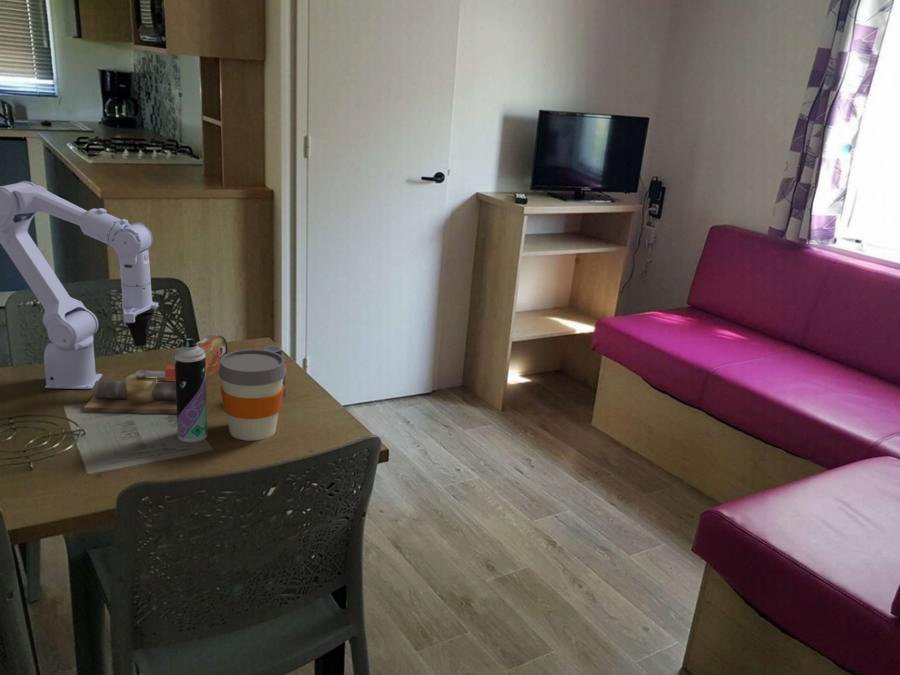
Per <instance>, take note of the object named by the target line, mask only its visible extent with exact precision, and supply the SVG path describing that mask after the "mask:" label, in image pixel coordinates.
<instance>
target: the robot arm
mask: <svg viewBox="0 0 900 675" xmlns="http://www.w3.org/2000/svg"><path fill="white" fill-rule="evenodd" d="M39 212H40V213H41V212H42V213H45V214H48V215H50V216H53V217H55V218H59V219H61V220H63V221H66V222H69V223H72V224H74V225H77V226H79V227H80V230H81V232H82V233H83V235H86V236H88V237H90V238H92V239H95V240H98V241H99V242H102V243H104V244H106V245H109V246H111V247H112V249H113V250H114V251H115V253H116V254H117V256H118V261H119V263H118V264H119V271H120V272H119V274H120V283H121V284H120V285H121V295H122V298H121V299H122V303H121V307H122V308H121V309H122V311H123V313H122V315H121V318H122V320H123V323H125V325H126V326H127V328H128V329H129V330H128V331H129V332H130V335H131V338H132V341H133V344H134V346H136V347H145V346H146V345H147V344H148V339H149V331H150V327H151V322H152V319H153V317H154V315H155V310H154V309H157V308H158V307H159V303H158V302H154V301H153V297H152V296H153V294H152V293H153V292H152V282H151V279H152V278H151V268H150V267H151V266H150V264H151V263H150V255H149V254H150V252H149V248H150V247H151V246H152V245H153V242H154V241H153V240H154V238H153V233H152V232H151V230H150V229H149V228H148V227H147V226H146V225H144V224H143V223H142V222H134V223H129V220H128V219H125V218H123V219H120V218H119V217H116V216H114V215H111V214H109V213H107V209H105V208H103V207H101V208H91V209H89V210H86V209H84V208H82V207H80V206H78V205H77V204H74V203H72V202H71V201H68V200H67V199H65V198H62V197H60V196H58V195H56V194H54V193H52V192H50V191H48V190H47V189H46V188H45V187H44V186H41V185H38V184H35V183H33V182H31V181H28V180H22V181H19V182H16V183H11V184H5V185H0V245H1V246H2V249H4V251H5V252H6V253H7V255H8V257H9V258H10V260H11V262H13V264H14V265H15V267H16V268H17V270H18V272H19V273H20V274H21V276H22V277H23V279H24V280H25V282H26V283H27V285H28V286H29V289H31V290H32V293H33V294H34V295H35V297H36V298H37V300H38V302H39V303H40V304H41V305H42V307H43V309H44V313H43V318H42V323H43V325H44V326H45V329H46V332H47V337H48V339H49V341H50V342H51V343H48V344H47V345H46V347H45V349H44V354H43V365H44V373H45V374H44V376H45V384H46V385H44V388H45V389H67V390H68V389H69V390H70V389H71V390H92V389H94V385H95V382H96V381H100V379H101V378H102V377H103V374H102V373H97V372H96V362H95V361H96V360H95V348H94V347H95V346H94V334H96V333H97V331H98V329H99V320H98V317H97V316H96V315H95V313H93V312H92V311H91V310H89V309H87V307H86V306H85V305H84V303H83V302H82V301H81V300H78V299H76V298H74V297H71V296H70V295H69V293H68V291H67V290H66V288H65V287H64V285H63V284H62V283H61V281H60V279H59V278H58V276H57V274H56V273H55V272H54V270H53V268H52V267H51V266H50V264H49V263H48V261H47V260H46V258H45V256H44V255H43V254H42V252H41V250H40V249H39V248H38V246H37V244H36V243H35V241H34V240H33V239H32V237H31V235H30V234H29V227H30V224H31V221H32V220H33V218H34V217H35V216H36V214H37V213H39Z"/></svg>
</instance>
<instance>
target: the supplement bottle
mask: <svg viewBox="0 0 900 675" xmlns="http://www.w3.org/2000/svg"><path fill="white" fill-rule="evenodd" d="M262 350H267V351H272V352H275V353H277V354H279V355H281V356H282V357H283V358H284V363H285V372H286V373H285V376H284V377H283V383H282V384H283V385H284V391H283V398H284V397H285V396H286V384H287V383H286V380H287V379H286V376H287V375H286V374H287V371H286V370H287V364H286V363H287V360H286V358H285V356H283V355H282V347H281V346H279V345H278V346H277V345H267V346H264V347H263V348H262Z"/></svg>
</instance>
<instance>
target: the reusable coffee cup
mask: <svg viewBox="0 0 900 675" xmlns="http://www.w3.org/2000/svg"><path fill="white" fill-rule="evenodd" d="M281 355H282V354H281ZM281 355H279V354H277V353H275V352H272V351H267V350H263V349H253V348H252V349H240V350H235V351H232V352H227V354H226V355H224V356H223V357H222V358H221V360H220V367H219V371H218V376H219V378H220V380H221V386H220V394H221V400H222V406H223V411H224V412H225V413H226V416H227V422H228V431H229V434H230V435H231V436H232V437H233V438H235V439H238V440H242V441H252V442H253V441H260V440H265V439H268V438H271V437H272V436H273V435H274V434H275V433H276V431H277V425H278V424H277V423H278V418H279V412H280V411H281V410H282V404H283V398H284V397H283V391H284V385H283V384H282V383H283V377H284V376H285V373H286V374H287V371H286V372H285V363H284V358H285V357H284V356H283V355H282V356H283V357H284V358H283V357H282V356H281Z"/></svg>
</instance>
